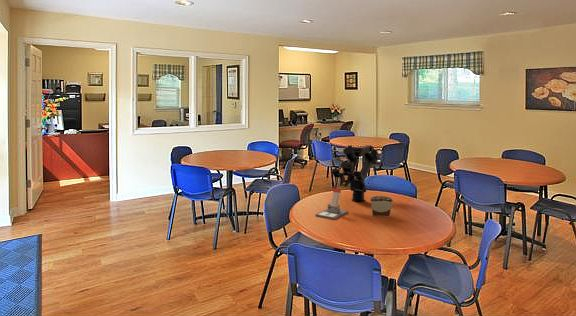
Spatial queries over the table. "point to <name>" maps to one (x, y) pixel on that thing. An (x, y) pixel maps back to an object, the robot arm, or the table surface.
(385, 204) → the food container
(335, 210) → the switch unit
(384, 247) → the table surface
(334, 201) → the lever
